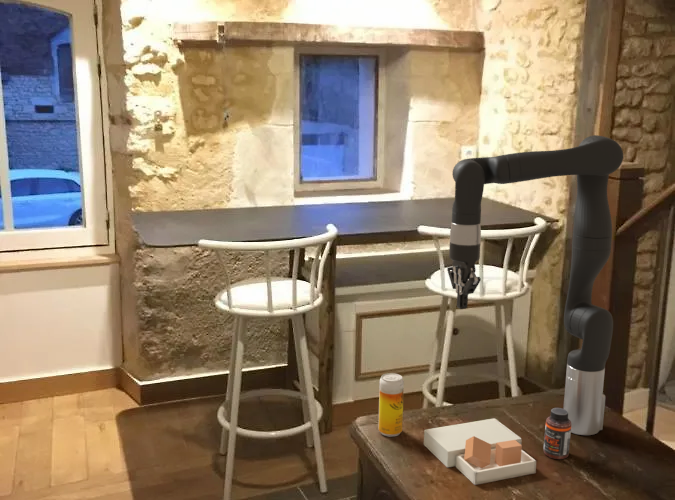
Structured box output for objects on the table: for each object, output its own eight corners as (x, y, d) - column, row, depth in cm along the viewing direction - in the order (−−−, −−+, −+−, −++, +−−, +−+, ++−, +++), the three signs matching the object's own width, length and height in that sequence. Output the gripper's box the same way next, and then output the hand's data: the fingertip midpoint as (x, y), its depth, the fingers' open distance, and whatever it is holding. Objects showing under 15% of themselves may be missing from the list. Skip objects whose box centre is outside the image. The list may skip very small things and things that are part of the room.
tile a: (514, 439, 176) (521, 445, 174) (513, 459, 177) (520, 465, 175) (496, 442, 175) (502, 448, 172) (494, 462, 176) (501, 468, 173)
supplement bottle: (539, 455, 181) (542, 411, 178) (548, 446, 185) (552, 403, 183) (563, 462, 177) (567, 418, 175) (572, 453, 182) (576, 410, 180)
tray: (514, 456, 180) (515, 444, 180) (535, 472, 172) (536, 461, 172) (455, 467, 175) (456, 455, 174) (474, 484, 167) (475, 472, 166)
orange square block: (483, 448, 176) (491, 444, 174) (481, 468, 173) (489, 464, 171) (465, 440, 175) (473, 436, 173) (464, 460, 172) (472, 455, 170)
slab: (493, 432, 192) (494, 418, 191) (520, 453, 181) (521, 438, 181) (423, 444, 185) (424, 429, 185) (447, 467, 174) (447, 451, 174)
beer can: (400, 438, 188) (402, 382, 185) (376, 436, 190) (378, 380, 186) (403, 428, 194) (405, 373, 191) (380, 425, 195) (381, 371, 192)
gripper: (492, 245, 181) (488, 314, 185) (464, 235, 193) (461, 299, 197) (465, 247, 178) (462, 317, 182) (438, 236, 191) (436, 302, 194)
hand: (461, 307), depth 189 cm, fingers closed
